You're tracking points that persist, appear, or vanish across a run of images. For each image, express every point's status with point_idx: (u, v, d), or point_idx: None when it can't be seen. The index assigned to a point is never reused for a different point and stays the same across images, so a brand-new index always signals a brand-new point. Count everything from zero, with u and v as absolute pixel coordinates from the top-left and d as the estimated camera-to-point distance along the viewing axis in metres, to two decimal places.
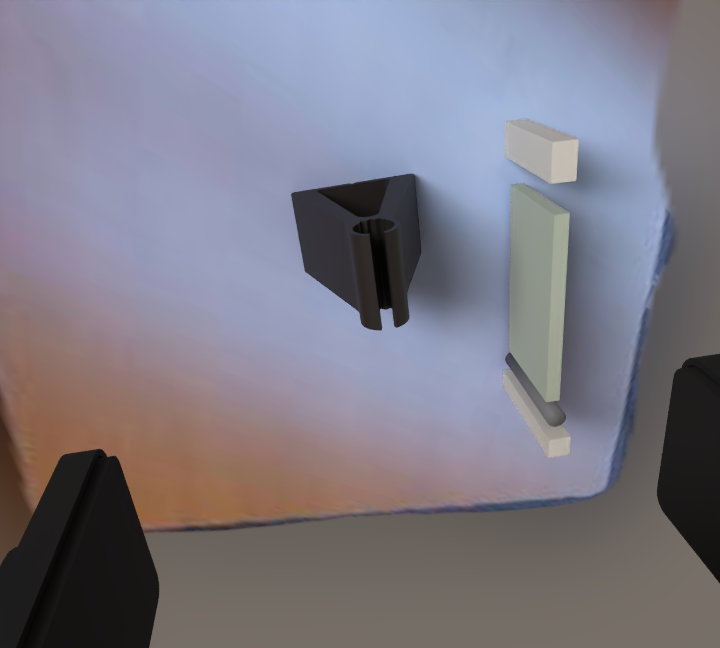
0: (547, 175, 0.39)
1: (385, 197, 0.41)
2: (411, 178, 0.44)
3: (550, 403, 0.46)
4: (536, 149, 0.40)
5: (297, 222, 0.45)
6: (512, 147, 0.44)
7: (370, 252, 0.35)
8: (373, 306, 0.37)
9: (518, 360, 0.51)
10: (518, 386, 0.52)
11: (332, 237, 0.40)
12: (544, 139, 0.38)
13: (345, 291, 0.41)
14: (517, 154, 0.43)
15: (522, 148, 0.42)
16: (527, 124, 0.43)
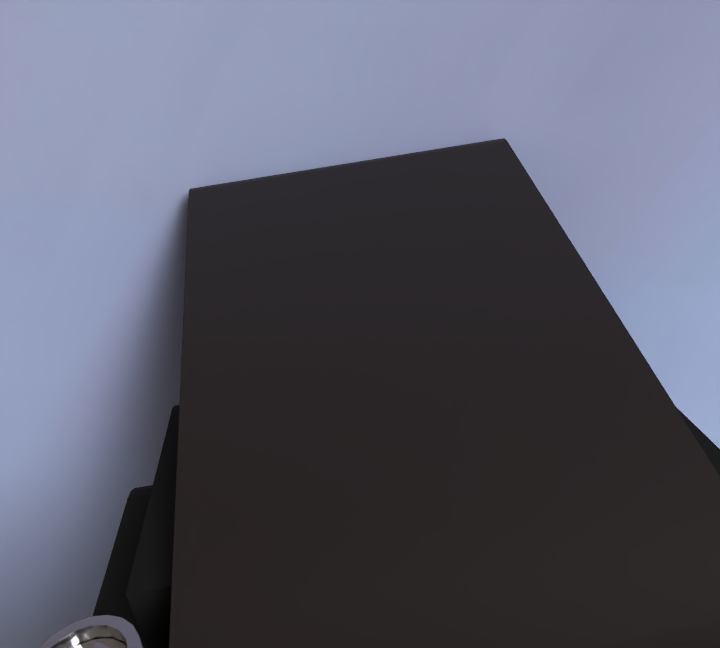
0: None
1: None
2: None
3: None
4: None
5: (402, 164, 0.11)
6: None
7: None
8: None
9: None
10: None
11: (553, 452, 0.07)
12: None
13: (247, 575, 0.06)
14: None
15: None
16: None
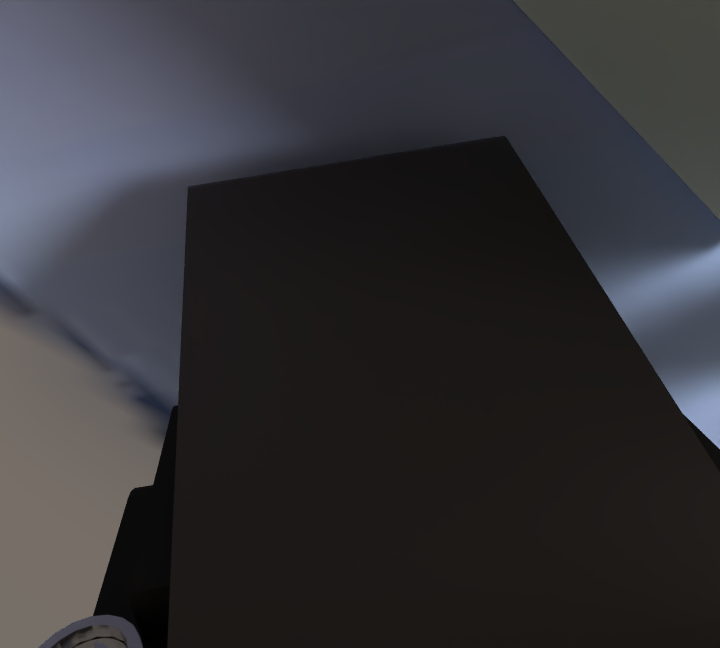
0: None
1: None
2: None
3: None
4: None
5: (402, 161, 0.11)
6: None
7: None
8: None
9: None
10: None
11: (553, 449, 0.07)
12: None
13: (246, 573, 0.06)
14: None
15: None
16: None
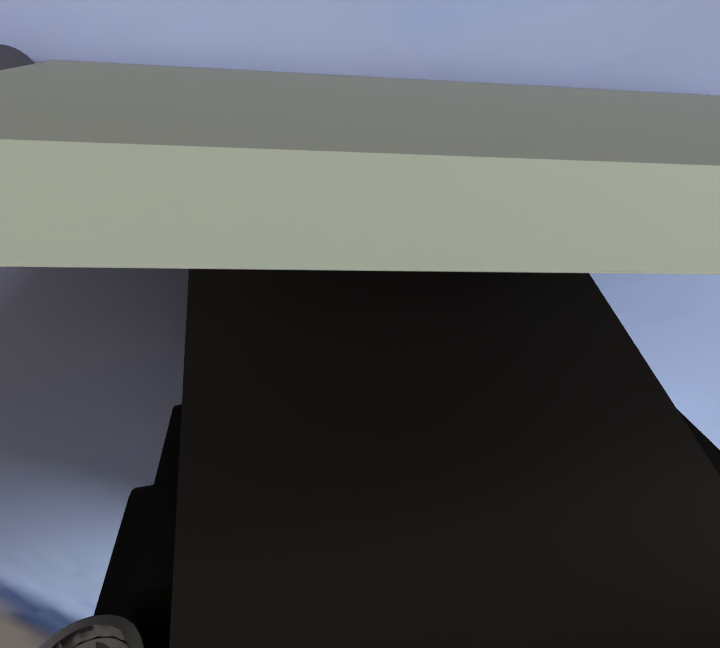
0: None
1: None
2: None
3: None
4: None
5: None
6: None
7: None
8: None
9: (28, 70, 0.10)
10: None
11: (553, 447, 0.07)
12: None
13: (248, 563, 0.07)
14: None
15: None
16: None
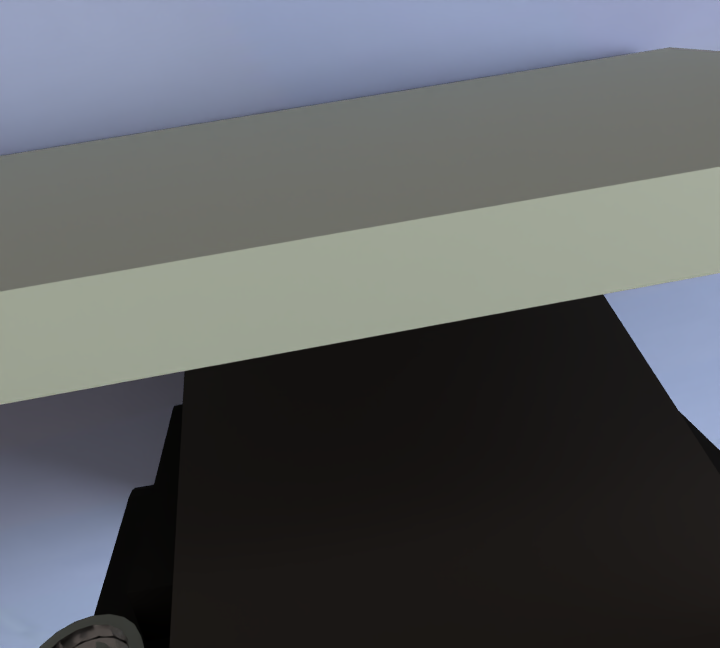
0: None
1: None
2: None
3: None
4: None
5: None
6: None
7: None
8: None
9: None
10: None
11: (552, 445, 0.07)
12: None
13: (249, 560, 0.07)
14: None
15: None
16: None
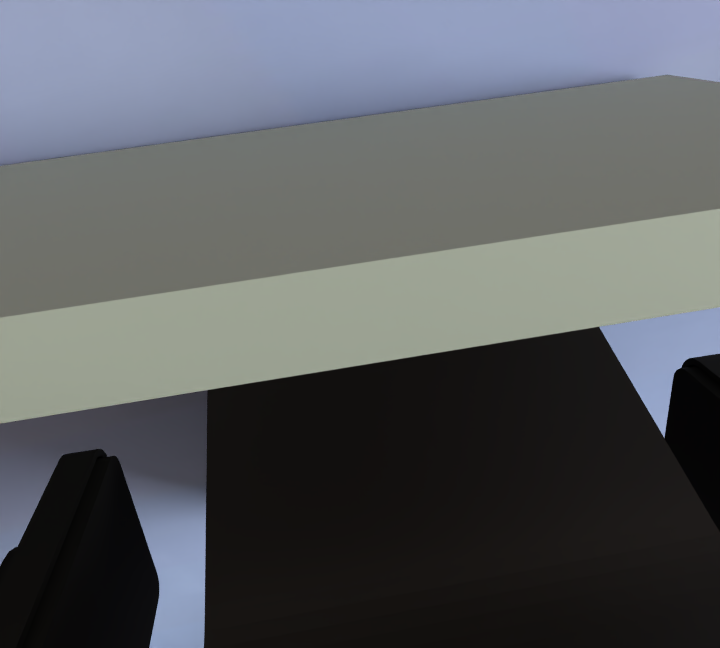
0: None
1: None
2: None
3: None
4: None
5: None
6: None
7: None
8: None
9: None
10: None
11: (521, 404, 0.09)
12: None
13: (268, 498, 0.08)
14: None
15: None
16: None
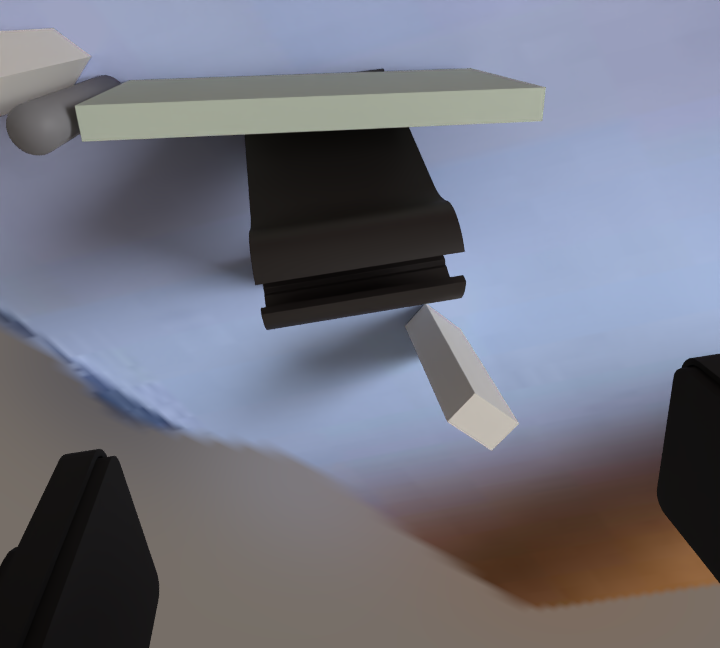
0: (477, 390, 0.25)
1: None
2: None
3: (68, 120, 0.18)
4: (484, 380, 0.27)
5: None
6: (446, 325, 0.31)
7: (429, 255, 0.18)
8: (309, 265, 0.17)
9: (125, 85, 0.23)
10: (67, 69, 0.23)
11: (373, 157, 0.22)
12: (507, 405, 0.26)
13: (272, 184, 0.21)
14: (448, 333, 0.30)
15: (461, 347, 0.29)
16: None
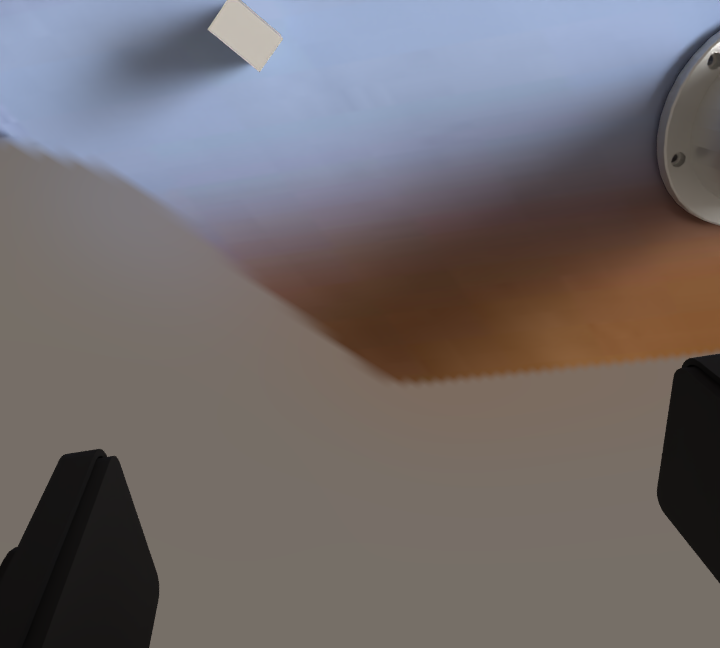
0: (239, 1, 0.25)
1: None
2: None
3: None
4: None
5: None
6: (254, 12, 0.31)
7: None
8: None
9: None
10: None
11: None
12: (281, 37, 0.27)
13: None
14: (249, 8, 0.30)
15: (258, 16, 0.29)
16: None
